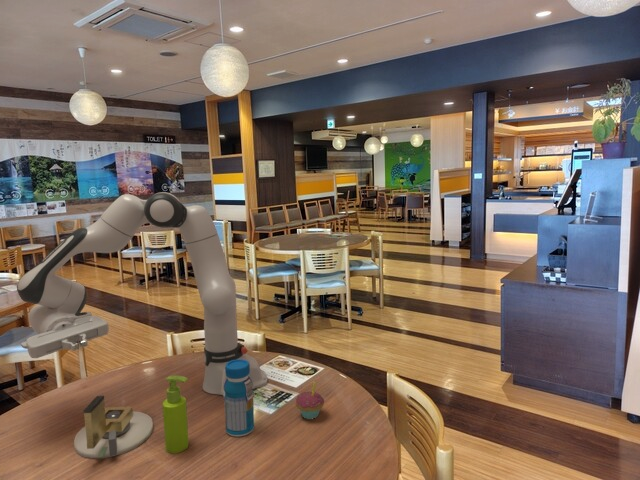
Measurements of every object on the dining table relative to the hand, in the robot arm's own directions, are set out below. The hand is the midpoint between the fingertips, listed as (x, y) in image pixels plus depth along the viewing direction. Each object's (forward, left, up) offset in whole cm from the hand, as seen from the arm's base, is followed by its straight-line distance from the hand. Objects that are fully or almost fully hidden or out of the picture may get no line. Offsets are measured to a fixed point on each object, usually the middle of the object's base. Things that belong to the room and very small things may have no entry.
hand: (80, 345), depth 116 cm
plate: (-6, +2, -27) cm, 28 cm away
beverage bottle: (-40, +13, -28) cm, 50 cm away
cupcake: (-61, +15, -28) cm, 68 cm away
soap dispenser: (-23, +14, -28) cm, 38 cm away
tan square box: (-7, +1, -26) cm, 27 cm away
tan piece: (-5, +6, -24) cm, 25 cm away
